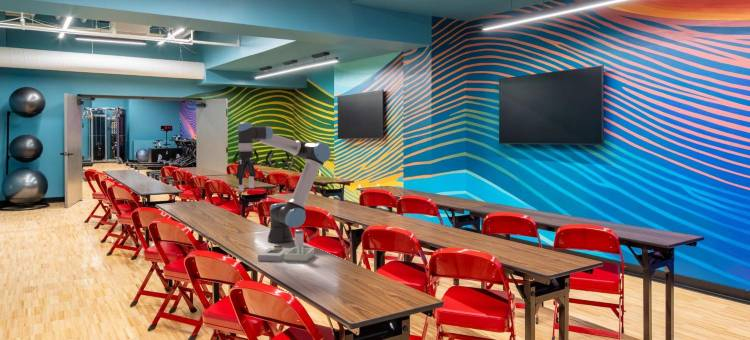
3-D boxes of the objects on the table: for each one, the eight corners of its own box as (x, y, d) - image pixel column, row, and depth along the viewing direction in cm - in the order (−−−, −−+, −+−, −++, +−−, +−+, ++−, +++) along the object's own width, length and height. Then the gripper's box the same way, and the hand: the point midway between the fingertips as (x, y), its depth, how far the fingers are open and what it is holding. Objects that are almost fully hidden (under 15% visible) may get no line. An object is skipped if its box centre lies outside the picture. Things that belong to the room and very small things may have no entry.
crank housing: (269, 253, 267) (269, 244, 267) (290, 253, 266) (290, 244, 265) (257, 260, 252) (257, 251, 251) (280, 261, 250) (280, 252, 250)
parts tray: (292, 254, 263) (292, 247, 263) (314, 255, 262) (314, 248, 261) (284, 261, 250) (283, 253, 249) (306, 262, 248) (306, 254, 247)
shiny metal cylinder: (296, 255, 258) (296, 229, 257) (304, 255, 257) (304, 229, 256) (294, 257, 254) (293, 230, 253) (302, 257, 253) (301, 231, 252)
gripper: (248, 150, 280) (249, 186, 282) (228, 151, 255) (230, 192, 257) (260, 150, 279) (261, 187, 281) (242, 151, 254) (243, 192, 256)
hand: (246, 189), depth 269 cm, fingers open, 13 cm apart
